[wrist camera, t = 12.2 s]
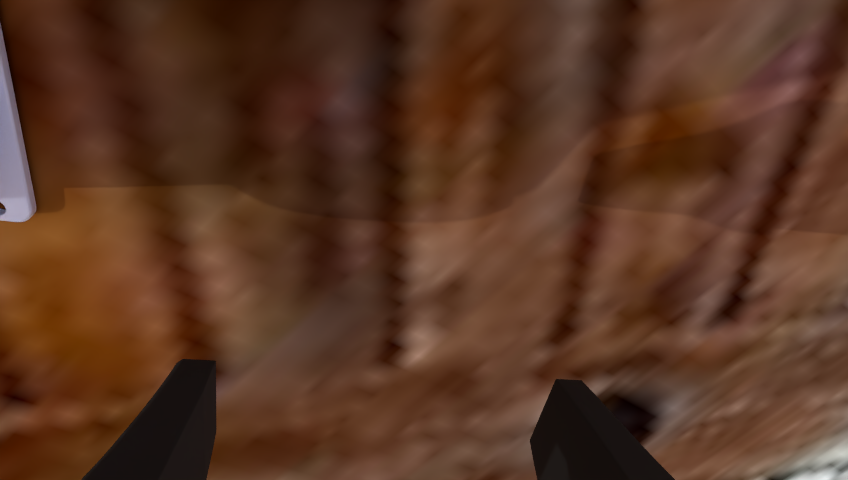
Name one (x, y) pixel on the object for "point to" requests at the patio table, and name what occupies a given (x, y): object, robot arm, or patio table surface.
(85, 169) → the patio table surface
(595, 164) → the patio table surface
